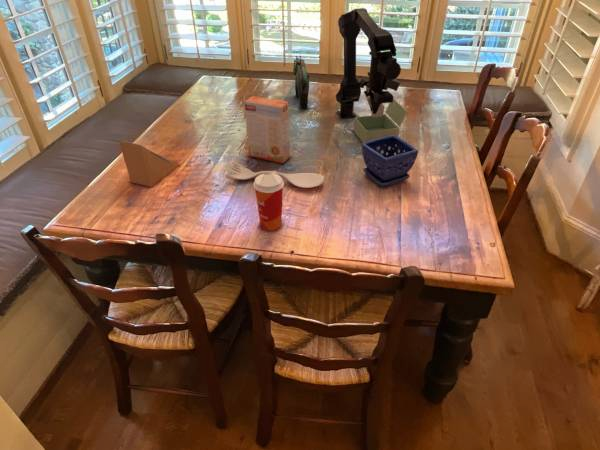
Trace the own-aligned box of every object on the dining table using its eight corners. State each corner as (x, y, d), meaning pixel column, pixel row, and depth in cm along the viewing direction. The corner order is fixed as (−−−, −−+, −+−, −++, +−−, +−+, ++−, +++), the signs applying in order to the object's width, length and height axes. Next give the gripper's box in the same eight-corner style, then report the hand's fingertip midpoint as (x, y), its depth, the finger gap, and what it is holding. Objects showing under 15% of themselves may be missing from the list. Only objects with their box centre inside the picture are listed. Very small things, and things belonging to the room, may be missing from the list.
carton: (353, 131, 174) (354, 117, 171) (383, 127, 176) (385, 113, 173) (365, 146, 163) (367, 132, 160) (397, 142, 166) (399, 128, 162)
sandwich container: (179, 165, 153) (171, 125, 144) (151, 187, 141) (141, 145, 132) (158, 161, 155) (150, 121, 146) (130, 181, 144) (118, 140, 135)
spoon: (233, 170, 150) (232, 161, 148) (325, 178, 145) (326, 169, 143) (225, 183, 143) (224, 174, 141) (321, 193, 138) (321, 184, 136)
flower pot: (381, 192, 138) (385, 159, 131) (357, 173, 148) (360, 141, 140) (414, 182, 143) (420, 149, 136) (389, 164, 152) (393, 133, 145)
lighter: (381, 114, 166) (384, 94, 161) (383, 116, 165) (385, 95, 160) (363, 116, 165) (366, 95, 160) (365, 118, 163) (367, 97, 158)
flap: (391, 97, 169) (392, 97, 169) (385, 112, 172) (385, 112, 173) (406, 110, 159) (407, 111, 159) (399, 126, 162) (400, 126, 162)
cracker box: (290, 157, 157) (289, 101, 144) (283, 164, 153) (281, 107, 140) (256, 149, 162) (252, 94, 149) (248, 156, 158) (243, 100, 145)
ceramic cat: (292, 94, 206) (292, 50, 194) (306, 93, 207) (306, 50, 195) (297, 110, 191) (296, 64, 179) (311, 110, 191) (312, 63, 179)
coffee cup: (256, 216, 128) (253, 172, 119) (284, 215, 129) (283, 171, 120) (256, 234, 122) (252, 189, 112) (286, 232, 122) (284, 187, 113)
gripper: (410, 77, 149) (403, 120, 158) (388, 61, 163) (383, 101, 172) (379, 80, 146) (375, 123, 156) (360, 63, 161) (357, 104, 170)
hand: (373, 112), depth 164 cm, fingers closed on lighter, 2 cm apart
